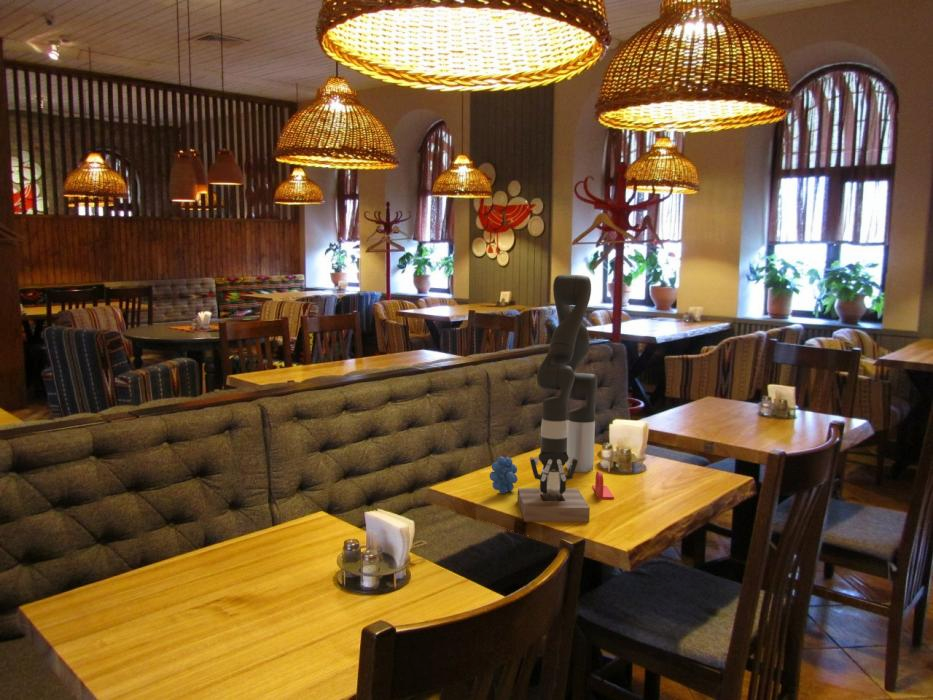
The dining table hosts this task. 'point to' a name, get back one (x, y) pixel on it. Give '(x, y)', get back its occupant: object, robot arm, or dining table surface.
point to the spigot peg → (553, 486)
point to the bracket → (601, 487)
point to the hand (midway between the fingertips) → (552, 492)
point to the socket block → (552, 506)
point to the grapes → (503, 474)
